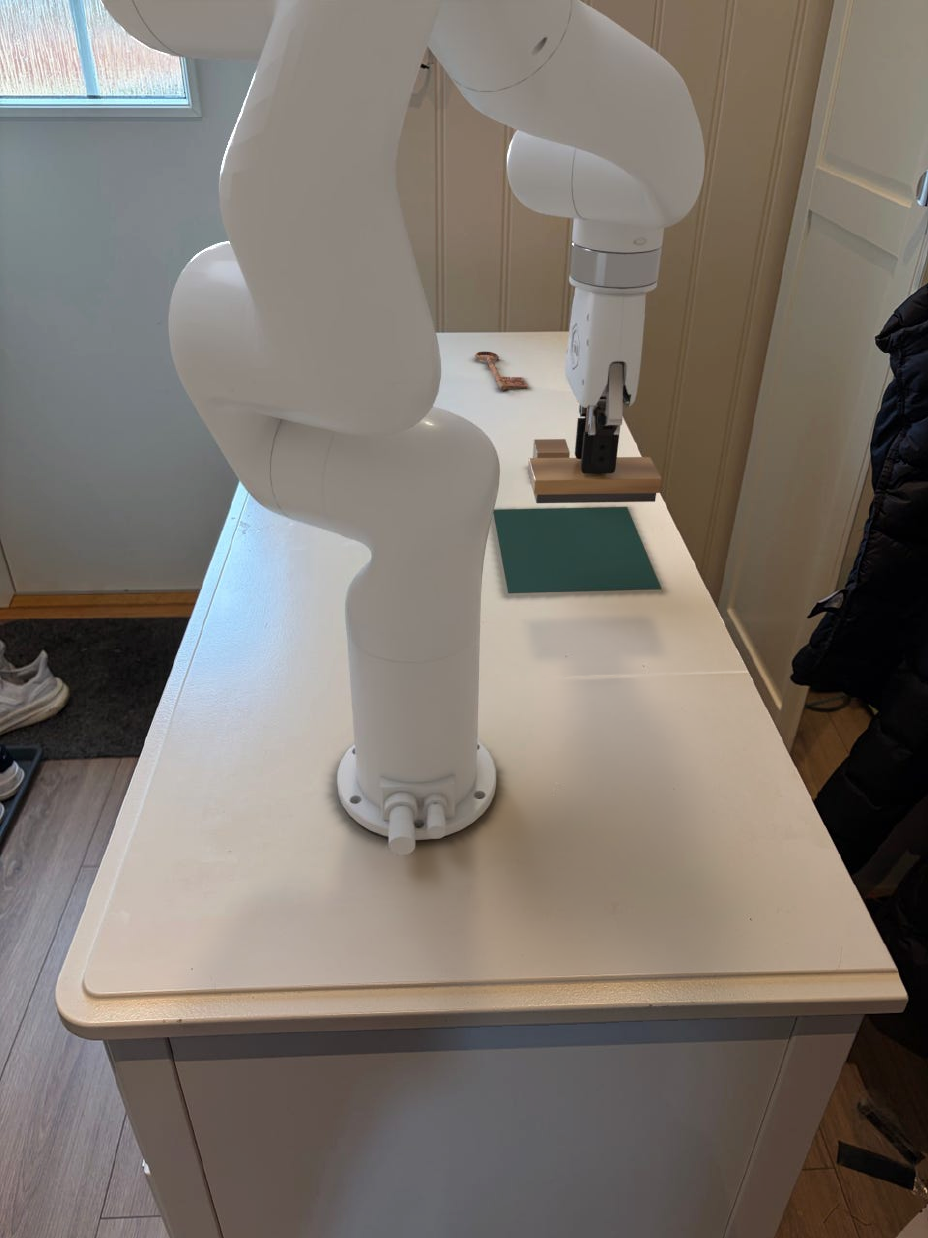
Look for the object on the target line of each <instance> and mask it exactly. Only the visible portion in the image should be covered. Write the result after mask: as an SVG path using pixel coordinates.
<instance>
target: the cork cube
mask: <svg viewBox="0 0 928 1238" xmlns="http://www.w3.org/2000/svg"><path fill="white" fill-rule="evenodd" d="M570 455H571V452H570V449H569V446H568V443H567V439H566V438H554V439H553V438H549V439H543V438H542V439H539V438H537V439H533V447H532V458H571V457H570Z"/></svg>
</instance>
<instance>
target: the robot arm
mask: <svg viewBox="0 0 928 1238" xmlns="http://www.w3.org/2000/svg"><path fill="white" fill-rule="evenodd" d="M100 2H101V4H102V6H103V7H104V9H105V10H106V11H107V12H108V14H109V15H110V16H111V18H112V19H113V21H114V22H115V23H116V24H117V26H119V28H121V29H122V31H124V32H125V33H126V34H127V35H128V36H129V37H131V38H132V39H134V40H135V41H136V42H138V43H139V44H141V45H143V46H145V47H146V48H148V49H150V50H153V51H155V52H158V53H160V54H163V55H166V56H170V57H178V58H186V59H191V60H192V59H193V60H204V61H205V60H207V61H219V62H220V61H221V62H232V63H246V64H257V66H256V69H255V71H254V74H253V77H252V80H251V84H250V86H249V89H248V91H247V94H246V97H245V100H244V102H243V105H242V107H241V110H240V113H239V115H238V118H237V120H236V124H235V126H234V129H233V130H232V133H231V136H230V139H229V141H228V145H227V147H226V149H225V153H224V155H223V160H222V163H221V167H220V172H219V173H220V174H219V179H218V180H219V181H218V201H219V203H218V204H219V211H220V216H221V217H220V218H221V220H222V225H223V228H224V232H225V235H226V237H227V240H228V241H223V242H219V243H216V244H213V245H211V246H209V247H207V248H205V249H203V250H202V251H200V252H198V253H197V254H195V256H193V257H192V259H191V260H189V262H187V263H186V265H185V267H184V268H183V269H182V271H181V272H180V274H179V276H178V278H177V280H176V282H175V285H174V287H173V289H172V294H171V297H170V303H169V308H168V320H167V321H168V324H167V326H168V338H169V348H170V353H171V357H172V361H173V364H174V368H175V371H176V373H177V376H178V378H179V380H180V383H181V385H182V386H183V388H184V390H185V393H186V394H187V395H188V396H187V397H189V399H190V401H191V403H192V405H193V406H194V408H195V410H196V411H197V413H198V415H199V416H200V418H201V420H202V421H203V423H204V425H205V426H206V428H207V430H208V431H209V433H210V435H211V436H212V438H213V439H214V442H215V443H216V445H217V446H218V449H220V451H221V453H222V455H223V456H224V458H225V460H226V461H227V463H228V464H229V466H230V469H232V471H233V473H234V474H235V476H236V478H237V480H239V482H240V484H241V485H242V486H243V488H244V489H245V491H247V493H248V494H249V495H250V496H251V497H252V498H253V499H254V500H255V501H256V503H258V504H259V505H260V506H262V507H263V508H265V509H266V510H268V511H269V512H272V513H273V514H276V515H278V516H281V517H283V518H286V519H289V520H292V521H295V522H298V523H301V524H305V525H307V526H311V527H314V528H317V529H320V530H324V531H327V532H330V533H333V534H336V535H340V536H341V537H342V538H343V537H344V538H346V539H349V540H353V541H356V542H358V543H360V544H362V545H364V546H365V547H366V548H367V549H369V551H370V555H371V557H370V560H369V561H368V562H366V563H365V564H364V565H363V566H362V567H361V568H360V569H359V570H358V571H357V573H356V574H355V575H354V577H353V578H352V579H351V581H350V583H349V585H348V587H347V592H346V595H345V601H344V619H345V620H344V621H345V631H346V643H347V657H348V658H347V659H348V671H349V684H350V685H349V686H350V699H351V713H352V714H351V715H352V726H353V727H352V728H353V741H354V744H352V745H351V747H349V749H347V751H346V752H345V754H344V755H343V757H342V759H341V760H340V763H339V765H338V769H337V775H336V777H337V778H336V785H337V794H338V798H339V800H340V802H341V805H342V806H343V809H344V810H345V811H346V812H347V814H348V815H349V816H350V817H351V818H352V819H353V820H354V821H355V822H356V823H357V824H358V825H360V826H362V827H364V828H365V829H367V830H369V831H371V832H373V833H376V834H378V835H381V836H383V837H387V838H388V850H389V851H390V853H392V854H393V855H395V856H406V855H410V854H412V853H413V852H414V851H415V849H416V841H423V840H439V839H443V838H444V837H446V836H449V835H452V834H454V833H457V832H459V831H462V830H464V829H465V828H466V827H468V826H470V825H471V824H473V823H474V822H475V821H477V820H479V818H480V817H481V816H483V815H484V813H485V812H486V810H487V809H488V808H489V807H490V805H491V803H492V801H493V798H494V797H495V795H496V794H495V793H496V787H497V768H496V765H495V761H494V758H493V757H492V755H491V753H490V751H489V750H488V749H487V748H486V747H485V746H484V745H483V743H482V742H481V741H479V740H478V733H479V695H480V694H479V693H480V692H479V691H480V652H481V649H480V647H481V612H482V611H481V609H482V586H483V585H482V584H483V571H484V563H485V555H486V549H487V543H488V538H489V533H490V529H491V524H492V519H493V517H494V514H493V512H494V510H495V507H496V503H497V500H498V499H497V498H498V493H499V487H500V475H501V466H500V465H501V464H500V458H499V455H498V451H497V449H496V447H495V444H494V443H493V441H492V439H490V437H489V436H488V434H486V433H485V432H484V431H483V430H482V428H480V427H479V426H477V425H476V424H474V423H473V422H472V421H471V420H469V419H467V418H465V417H463V416H461V415H458V414H456V413H454V412H451V411H450V410H446V409H443V408H439V407H436V406H434V405H435V402H436V400H437V398H438V395H439V392H440V386H441V379H442V359H441V351H440V345H439V340H438V335H437V332H436V328H435V323H434V320H433V317H432V313H431V310H430V306H429V303H428V300H427V296H426V292H425V289H424V286H423V282H422V279H421V275H420V272H419V267H418V265H417V261H416V258H415V255H414V251H413V247H412V244H411V241H410V237H409V234H408V230H407V227H406V223H405V218H404V215H403V214H404V213H403V210H402V206H401V201H400V197H399V192H398V188H397V165H396V163H397V158H398V157H397V156H398V150H399V144H400V139H401V135H402V130H403V127H404V123H405V119H406V116H407V115H406V114H407V112H408V108H409V105H410V101H411V98H412V94H413V90H414V88H415V84H416V81H417V78H418V76H419V72H420V70H421V66H422V63H423V60H424V57H425V54H426V51H427V49H429V50H430V51H431V53H432V54H433V55H434V58H436V60H437V61H438V62H439V64H440V65H441V67H442V68H443V70H444V71H445V72H446V74H447V75H448V76H449V78H450V80H451V81H452V82H453V83H454V85H455V86H456V88H457V90H458V91H459V93H460V94H461V95H462V96H463V98H465V100H466V101H467V102H468V103H469V104H470V105H471V106H472V107H473V108H474V109H475V110H476V111H478V112H480V113H481V114H482V115H483V116H486V117H488V118H490V119H491V120H494V121H496V122H498V123H501V124H503V125H506V126H507V127H510V128H512V129H514V130H515V133H514V134H513V136H512V138H511V140H510V143H509V146H508V150H507V154H506V155H507V156H506V174H507V180H508V184H509V186H510V189H511V191H512V193H513V195H514V196H515V198H516V199H517V200H518V201H519V202H520V203H521V204H522V205H523V206H524V207H526V208H528V209H529V210H532V211H534V212H536V213H539V214H543V215H546V216H554V217H559V218H560V217H561V218H567V219H573V224H572V234H571V236H572V237H571V246H570V247H571V249H570V260H569V261H570V263H569V275H568V282H569V284H570V285H571V286H573V287H575V288H574V293H573V300H572V306H571V314H570V321H569V322H570V323H569V330H568V338H567V348H566V354H565V363H564V364H565V365H564V373H565V378H566V380H567V382H568V384H569V386H570V390H571V391H572V393H573V395H574V397H575V399H576V402H577V403H578V404H579V406H578V415H579V417H578V418H577V423H576V433H575V434H576V435H575V445H574V446H575V447H574V456H575V458H577V459H581V471H582V473H584V474H600V473H613V472H614V471H615V468H616V459H617V457H618V449H619V440H620V432H621V426H622V424H623V419H624V417H623V415H624V414H623V413H624V412H623V409H624V408H623V407H624V406H625V407H626V408H630V407H631V406H632V405H633V404H634V403H635V401H636V398H637V394H638V388H639V381H640V372H641V364H642V354H643V343H644V331H645V319H646V296H647V295H646V294H647V293H649V292H651V291H654V290H655V289H656V288H657V287H658V282H659V281H658V280H659V274H660V273H659V272H660V266H661V265H660V264H661V258H662V257H661V256H662V251H663V250H662V249H663V241H664V232H665V228H669V227H672V226H674V225H676V224H678V223H680V222H681V221H682V220H684V218H686V217H687V215H688V214H689V213H690V212H691V211H692V209H693V208H694V206H695V204H696V202H697V200H698V198H699V196H700V192H701V190H702V186H703V183H704V177H705V169H706V167H705V165H706V155H705V154H706V153H705V144H704V136H703V132H702V127H701V123H700V120H699V116H698V114H697V110H696V108H695V105H694V103H693V99H692V96H691V93H690V91H689V88H688V86H687V84H686V82H685V80H684V78H683V77H682V76H681V74H680V73H679V72H678V71H677V69H676V68H675V67H674V66H673V65H672V64H671V63H670V62H669V61H668V60H667V59H666V58H664V57H663V56H662V55H661V54H660V53H658V51H656V50H655V49H653V48H652V47H650V46H649V45H647V44H646V43H645V42H643V41H642V40H641V39H639V38H637V37H636V36H635V35H633V34H632V33H631V32H629V31H628V30H626V29H625V28H624V27H622V26H621V25H619V24H618V23H616V22H615V21H613V20H612V19H611V18H609V17H608V16H607V15H605V14H604V13H602V12H600V11H598V10H597V9H595V8H593V7H592V6H590V5H588V4H587V3H584V2H583V1H582V0H100ZM623 404H624V406H623ZM589 405H590V407H589V419H588V431H586V432H585V425H586V414H587V407H588V406H589ZM598 410H605V412H604V413H599V415H598V416H597V412H598Z"/></svg>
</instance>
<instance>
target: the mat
mask: <svg viewBox="0 0 928 1238" xmlns="http://www.w3.org/2000/svg"><path fill="white" fill-rule="evenodd" d="M632 517H633V516H632V515H631V513H630V510H629V508H628V506H603V507H601V506H600V507H599V506H597V507H557V508H556V507H555V508H554V507H552V508H551V507H550V508H549V507H547V508H508V509H507V508H506V509H505V508H504V509H503V508H501V509H494V512H493V518H494V524H495V530H496V536H497V540H498V545H499V550H500V551H499V552H500V556H501V561H502V567H503V573H504V574H503V575H504V578H505V585H506V589H507V594H533V593H536V594H537V593H567V592H568V593H569V592H570V593H571V592H573V593H574V592H610V591H640V590H641V591H645V590H646V591H647V590H649V591H650V590H662V586H661V584H660V582H659V579H658V577H657V575H656V572H655V570H654V567H653V565H652V563H651V561H650V558H649V556H648V553H647V551H646V548H645V546H644V544H643V543H644V542H643V541H642V539H641V536H640V534H639V532H638V529H637V527H636V524H635V521H634V520H633V518H632Z"/></svg>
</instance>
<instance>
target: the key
mask: <svg viewBox="0 0 928 1238" xmlns="http://www.w3.org/2000/svg"><path fill="white" fill-rule="evenodd" d="M499 356H500V355H498V354H497V353H495V352H492V351H478V352H476V353H475V354H474V357H475V358H476V359H477V360H480V361H483V362H486V364H487V365H488V366H487V367H488V368H489V369H490V371H491V373H492V375H493V377H494V379H495V381H496V383H497V385H498V387H499V389H500V391H505V390H506V389H507V388H528V385H527V383H526V381H525V379H524V377H522V376H500V373H499V371H498V369H497V367H496V363H495V362H494V361H497V360H499V358H500V357H499Z"/></svg>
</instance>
